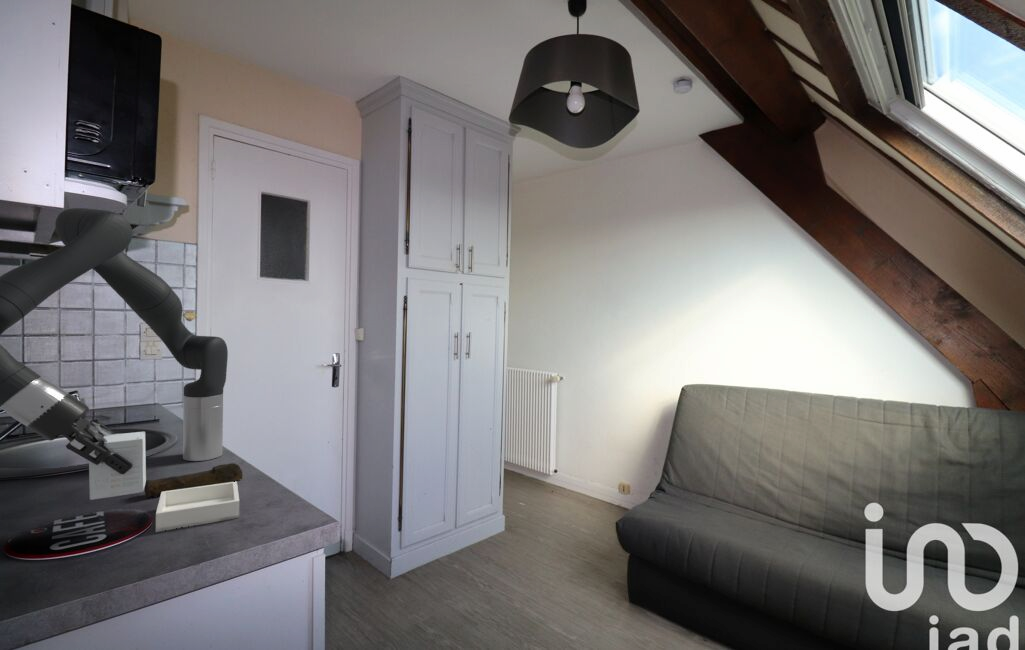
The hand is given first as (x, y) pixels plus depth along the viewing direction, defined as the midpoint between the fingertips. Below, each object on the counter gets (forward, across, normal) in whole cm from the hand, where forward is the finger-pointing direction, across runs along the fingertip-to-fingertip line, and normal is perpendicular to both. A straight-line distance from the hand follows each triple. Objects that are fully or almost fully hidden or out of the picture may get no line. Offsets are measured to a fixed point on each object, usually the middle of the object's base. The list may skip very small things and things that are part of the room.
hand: (130, 464), depth 93 cm
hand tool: (+16, +16, +2) cm, 22 cm away
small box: (+2, 0, +5) cm, 5 cm away
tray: (+16, 0, 0) cm, 16 cm away
